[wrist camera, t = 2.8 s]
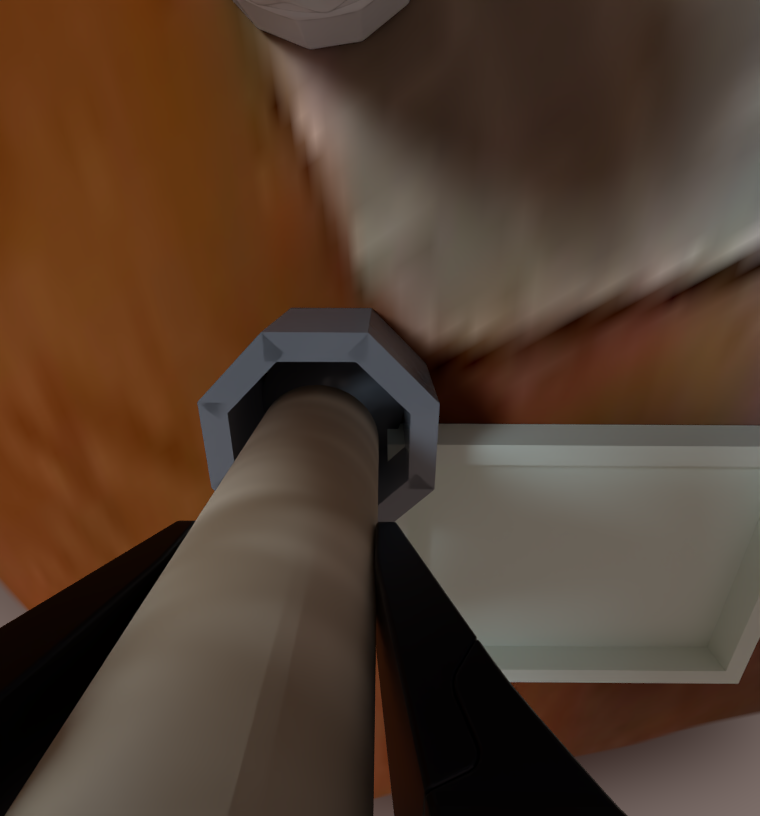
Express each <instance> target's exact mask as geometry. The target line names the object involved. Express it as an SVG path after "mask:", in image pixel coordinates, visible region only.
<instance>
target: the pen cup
mask: <svg viewBox="0 0 760 816" xmlns="http://www.w3.org/2000/svg"><path fill="white" fill-rule="evenodd" d="M268 370H269V371H268ZM267 371H268V373H267V376H266V378H265V381H264V374H265V373H266V372H267ZM308 385H325V386H330V387H335V388H338V389H341V390H343V391H345V392H347V393H349V394H351V395H352V396H354V397H355V398H357V399H358V400H359V401H360V402H361V403H362V404H363V405H364V406H365V407H366V408H367V409H368V411H369V412H370V413H371V415H372V417H373V419H374V421H375V424H376V426H377V430H378V436H379V464H378V522H395V521H396V520H397V519H399V518H400V517H401V516H402V515H403V514H405V513H406V512H407V511H408V510H410V509H411V508H412V507H413V506H415V505H416V504H417V503H418V502H420V501H421V500H422V499H423V498H425V497H426V496H427V495H428V494H430V493H431V492H432V491H433V490H434V489H435V473H436V456H437V440H438V423H439V407H440V403H439V400H438V397H437V394H436V392H435V389H434V386H433V383H432V380H431V377H430V374H429V371H428V368H427V365H426V363H425V362H424V361H423V360H422V359H421V358H420V357H419V356H418V355H417V354H416V353H415V352H414V351H413V350H412V349H411V348H410V347H409V346H408V345H407V344H406V343H405V342H404V341H403V340H402V339H401V338H400V337H399V336H398V335H397V334H396V333H395V332H394V331H393V330H392V328H391V327H390V326H389V325H388V324H387V323H386V322H385V321H384V320H383V319H382V318H381V317H380V316H379V315H378V314H377V313H376V312H375V311H374V310H373V309H371V308H290V309H289V310H288V311H287V312H286V313H284V314H283V315H282V316H281V317H279V318H278V319H277V320H276V321H274V322H273V323H272V324H271V325H270V326H268V327H267V328H266V329H265V330H263V331H262V332H261V333H260V334H259V335H258V336H257V337H256V338H255V340H254V341H253V342H252V343H251V344H250V345H249V346H248V347H247V348H246V349H245V351H244V352H243V353H242V354H241V355H240V356H239V357H238V358H237V359H236V360H235V362H234V363H233V364H232V365H231V366H230V367H229V368H228V369H227V370H226V371H225V373H224V374H223V375H222V376H221V377H220V378H219V379H218V380H217V381H216V382H215V384H214V385H213V386H212V387H211V388H210V389H209V390H208V391H207V392H206V393H205V394H204V396H203V397H202V398H201V399H200V400H199V401H198V402H197V403H198V409H199V415H200V421H201V427H202V433H203V439H204V445H205V451H206V457H207V463H208V469H209V475H210V481H211V487H212V489H214V490H216V489H217V487H218V486H219V484H220V483H221V481H222V480H223V478H224V477H225V475H226V474H227V472H228V470H229V469H230V467H231V466H232V464H233V463H234V461H235V460H236V458H237V457H238V455H239V453H240V452H241V450H242V449H243V447H244V446H245V444H246V443H247V441H248V440H249V438H250V437H251V435H252V433H253V432H254V430H255V429H256V427H257V426H258V424H259V423H260V421H261V420H262V418H263V416H264V415H265V413H266V412H267V410H268V409H269V407H270V406H271V405H272V404H273V403H274V401H276V400H277V399H278V398H279V397H280V396H282V395H283V394H285V393H286V392H288V391H291V390H293V389H295V388H299V387H302V386H308ZM402 416H403V430H404V440H405V447H404V448H403V449H402V450H400V451H399V452H398V453H397V454H396V455H395V456H393V457H392V458H391V459H390V460H389V461H388V456H387V429H398V428H399V425H400V423H401V420H402Z"/></svg>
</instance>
